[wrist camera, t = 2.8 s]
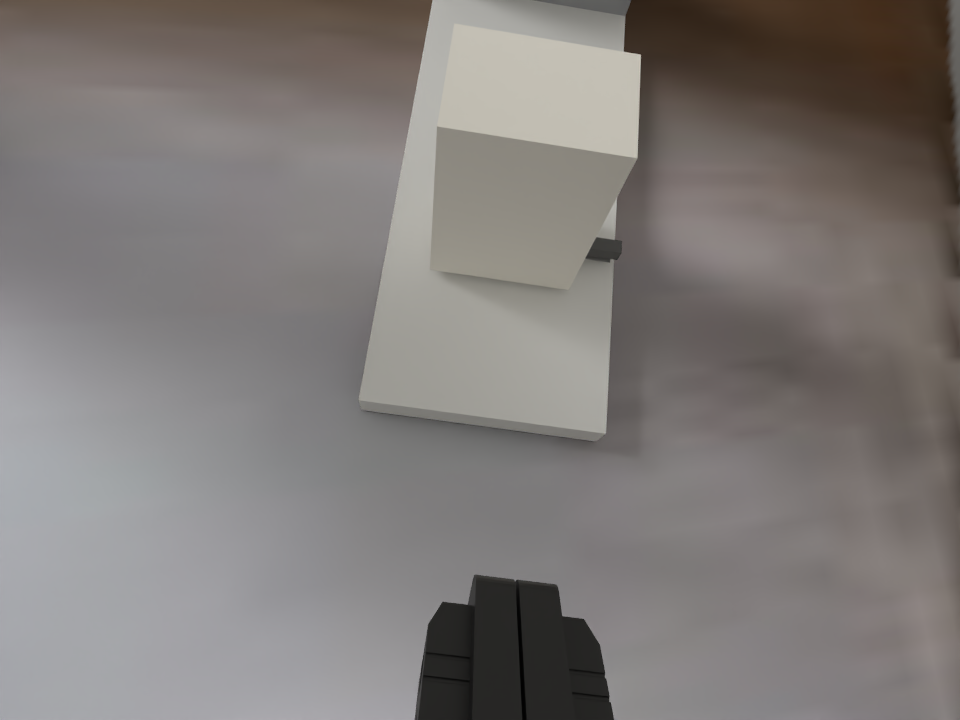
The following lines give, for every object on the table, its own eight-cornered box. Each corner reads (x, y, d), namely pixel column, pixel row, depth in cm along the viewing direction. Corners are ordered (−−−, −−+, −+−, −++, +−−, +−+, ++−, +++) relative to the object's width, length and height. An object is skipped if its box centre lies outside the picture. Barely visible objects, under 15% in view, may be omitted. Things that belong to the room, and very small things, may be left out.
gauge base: (361, 409, 27) (325, 290, 16) (448, -64, 36) (462, -340, 25) (596, 441, 27) (716, 346, 16) (620, -34, 37) (706, -292, 26)
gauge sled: (430, 269, 27) (437, 126, 19) (445, 168, 29) (459, -5, 20) (614, 296, 28) (702, 168, 19) (618, 194, 29) (701, 36, 21)
